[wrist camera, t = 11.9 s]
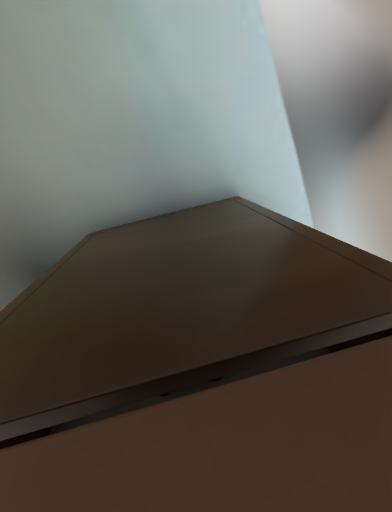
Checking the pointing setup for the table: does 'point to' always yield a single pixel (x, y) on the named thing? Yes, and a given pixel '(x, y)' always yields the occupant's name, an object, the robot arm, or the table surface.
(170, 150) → the table surface
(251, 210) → the storage box
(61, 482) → the box lid
